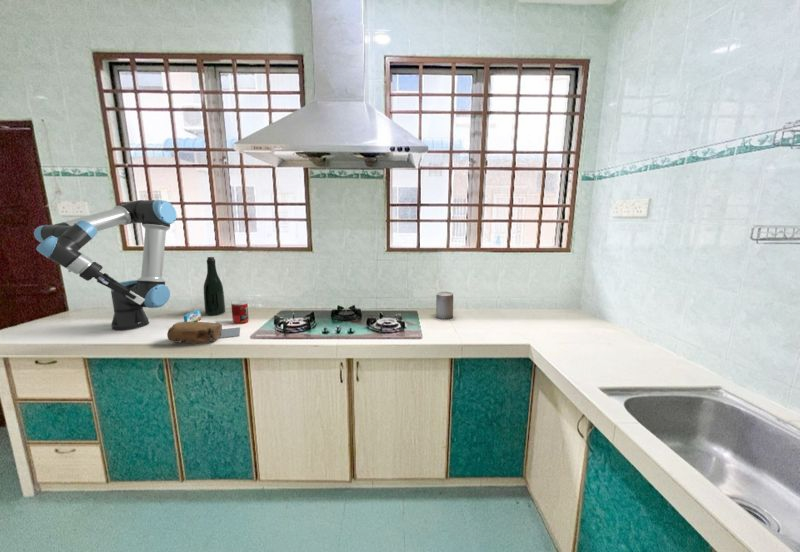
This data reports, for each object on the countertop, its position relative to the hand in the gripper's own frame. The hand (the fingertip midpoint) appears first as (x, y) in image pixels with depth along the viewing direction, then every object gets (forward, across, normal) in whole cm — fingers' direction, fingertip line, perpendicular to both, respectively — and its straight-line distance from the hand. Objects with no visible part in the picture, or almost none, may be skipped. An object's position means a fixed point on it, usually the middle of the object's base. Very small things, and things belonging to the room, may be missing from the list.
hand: (142, 302), depth 152 cm
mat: (+31, +7, +4) cm, 32 cm away
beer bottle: (+37, -32, +10) cm, 50 cm away
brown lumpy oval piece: (+17, +5, -4) cm, 18 cm away
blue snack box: (+28, -18, +1) cm, 33 cm away
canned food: (+42, -6, +16) cm, 46 cm away
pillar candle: (+109, +52, +82) cm, 147 cm away
